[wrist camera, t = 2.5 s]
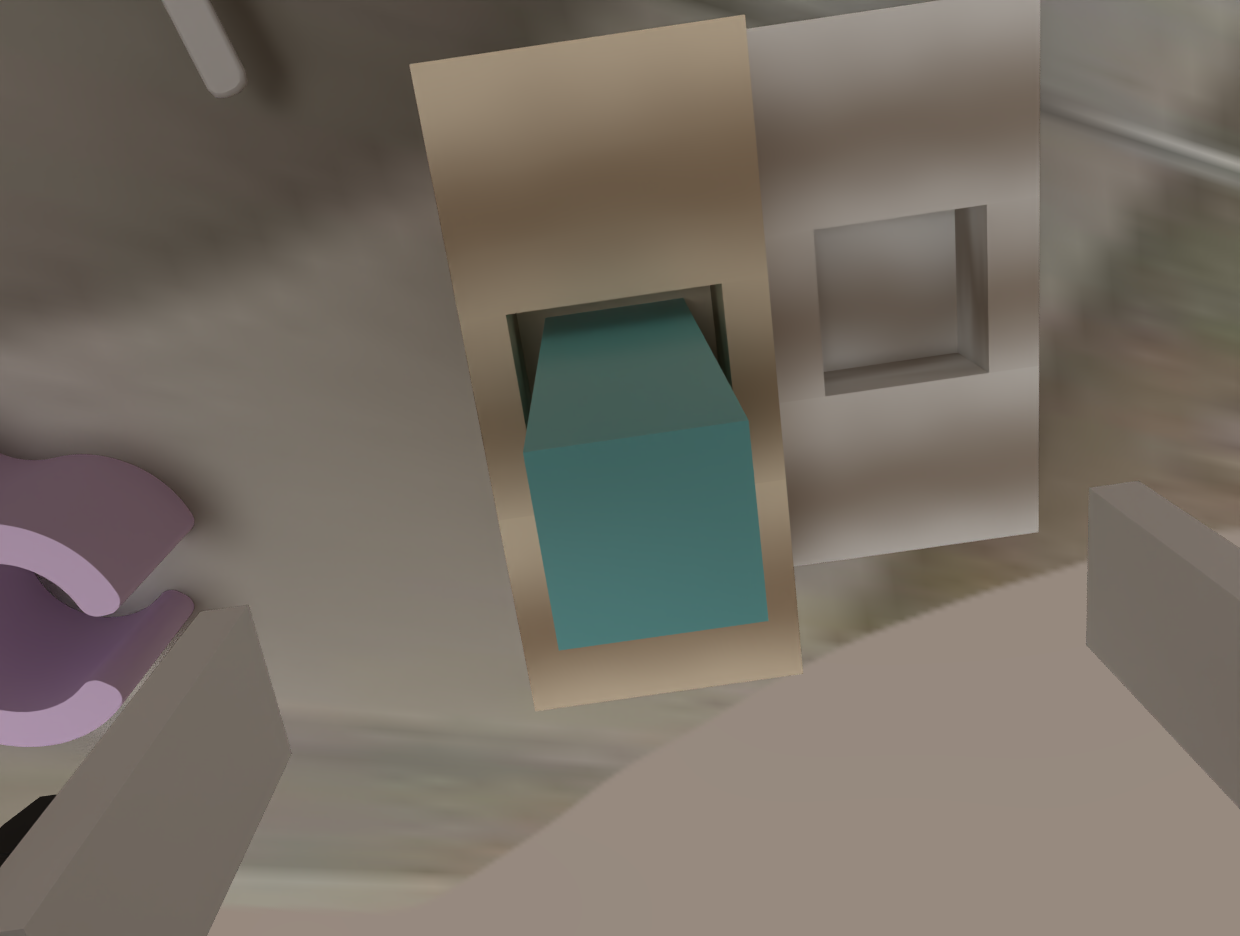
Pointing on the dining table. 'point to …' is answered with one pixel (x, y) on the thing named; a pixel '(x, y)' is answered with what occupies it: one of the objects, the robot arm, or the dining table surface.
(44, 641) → the clip
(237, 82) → the saucepan
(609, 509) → the plug
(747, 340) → the socket block
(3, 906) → the robot arm
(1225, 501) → the dining table surface
